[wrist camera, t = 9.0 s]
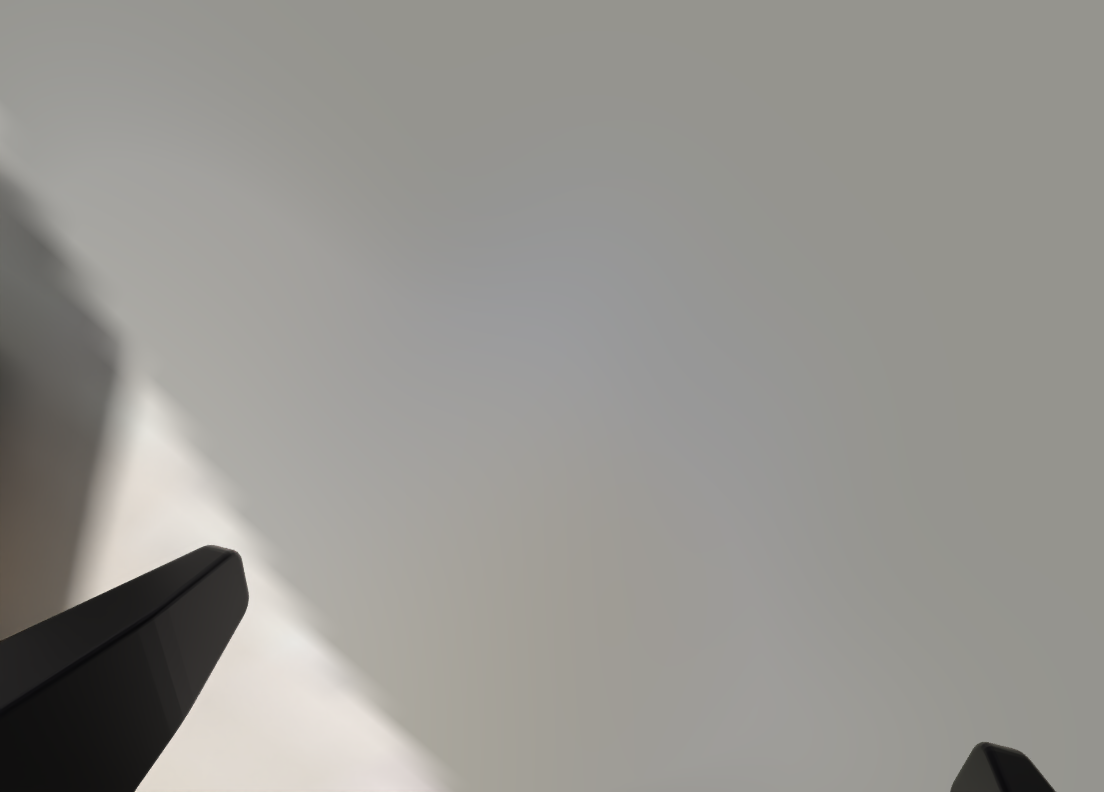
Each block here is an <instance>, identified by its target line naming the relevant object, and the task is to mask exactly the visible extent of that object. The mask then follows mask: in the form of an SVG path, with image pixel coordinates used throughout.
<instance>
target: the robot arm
mask: <svg viewBox="0 0 1104 792" xmlns="http://www.w3.org/2000/svg"><path fill="white" fill-rule="evenodd" d="M248 600H249V593H248V588H247V583H246V578H245V573H244V568H243V563H242V559H241V556H240V555H239V554H238V552H236V551H234V550H231V549H227V548H223V547H219V546H215V545H207V546H204V547H201V548H199V549H197V550H195V551H192V552H190V553H188V554H186V555H184V556H182V557H180V558H177V559H175V560H173V561H171V562H169V563H167V564H165V565H162V566H160V567H158V568H156V569H154V570H152V571H150V572H147V573H145V574H143V575H141V576H139V577H137V578H135V579H133V580H130V581H128V582H126V583H124V584H122V585H120V586H118V587H115V588H113V589H111V590H109V591H107V592H105V593H103V594H100V595H98V596H96V597H94V598H92V599H90V600H88V601H85V602H83V603H81V604H79V605H77V606H75V607H73V608H70V609H68V610H66V611H64V612H62V613H60V614H58V615H56V616H53V617H51V618H49V619H47V620H45V621H43V622H41V623H38V624H36V625H34V626H32V627H30V628H28V629H26V630H23V631H21V632H19V633H17V634H15V635H13V636H11V637H8V638H6V639H4V640H2V641H0V792H135V790H136V789H137V787H138V786H139V784H140V783H141V781H142V780H143V779H144V777H145V776H146V774H147V773H148V771H149V770H150V769H151V767H152V766H153V764H154V763H155V761H156V760H157V759H158V757H159V756H160V754H161V753H162V751H163V750H164V749H165V747H166V746H167V744H168V743H169V741H170V740H171V739H172V737H173V736H174V734H175V733H176V731H177V730H178V728H179V727H180V725H181V724H182V722H183V721H184V719H185V718H186V716H187V714H188V713H189V711H190V709H191V708H192V706H193V704H194V703H195V701H196V699H197V697H198V696H199V694H200V692H201V690H202V689H203V687H204V685H205V683H206V681H207V680H208V678H209V676H210V674H211V673H212V671H213V669H214V667H215V666H216V664H217V662H218V660H219V658H220V657H221V655H222V653H223V651H224V650H225V648H226V646H227V644H228V643H229V641H230V639H231V637H232V635H233V634H234V632H235V630H236V628H237V627H238V625H239V623H240V621H241V620H242V618H243V616H244V614H245V612H246V609H247V606H248ZM950 792H1055V790H1054V789H1053V788H1052V787H1051V785H1050V784H1049V783H1048V781H1047V780H1046V779H1045V778H1044V777H1043V775H1042V774H1041V773H1040V772H1039V770H1038V769H1037V768H1036V767H1035V765H1034V764H1033V763H1032V762H1031V760H1030V759H1029V758H1028V757H1027V756H1025V755H1024V754H1023V753H1022V752H1020V751H1018V750H1015V749H1012V748H1008V747H1004V746H1000V745H996V744H993V743H989V742H981V743H979V744H977V745H976V746H975V747H974V748H973V750H972V752H971V753H970V755H969V757H968V758H967V760H966V762H965V764H964V765H963V767H962V769H961V770H960V772H959V774H958V776H957V777H956V779H955V781H954V782H953V785H952V787H951V791H950Z"/></svg>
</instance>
